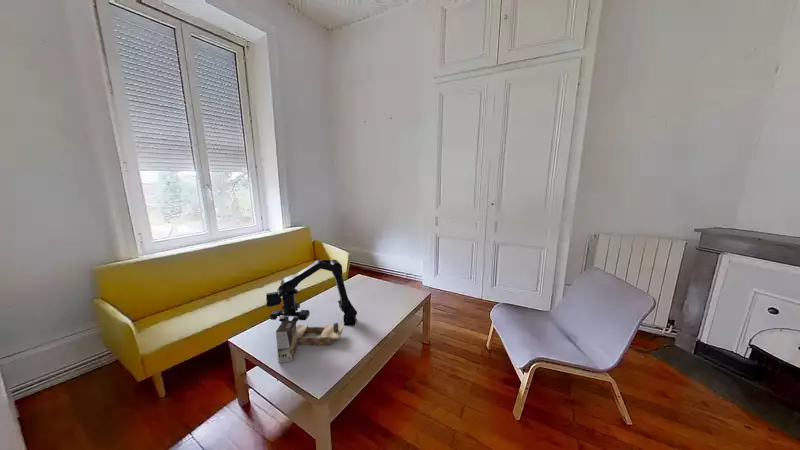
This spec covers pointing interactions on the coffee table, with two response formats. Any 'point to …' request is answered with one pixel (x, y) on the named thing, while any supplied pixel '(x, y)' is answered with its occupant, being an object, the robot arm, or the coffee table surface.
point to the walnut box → (313, 337)
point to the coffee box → (286, 341)
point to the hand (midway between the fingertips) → (291, 329)
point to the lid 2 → (332, 332)
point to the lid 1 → (300, 330)
